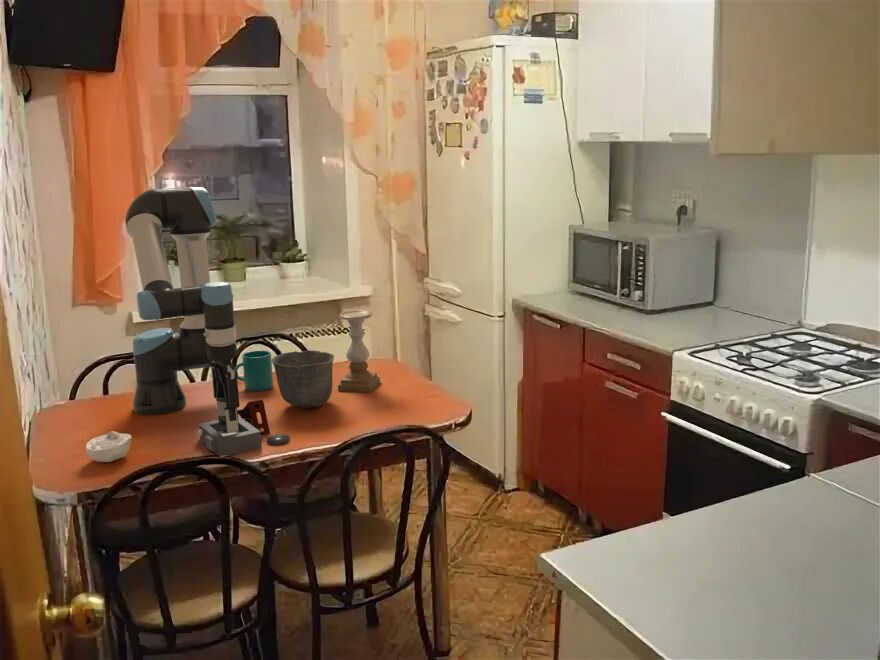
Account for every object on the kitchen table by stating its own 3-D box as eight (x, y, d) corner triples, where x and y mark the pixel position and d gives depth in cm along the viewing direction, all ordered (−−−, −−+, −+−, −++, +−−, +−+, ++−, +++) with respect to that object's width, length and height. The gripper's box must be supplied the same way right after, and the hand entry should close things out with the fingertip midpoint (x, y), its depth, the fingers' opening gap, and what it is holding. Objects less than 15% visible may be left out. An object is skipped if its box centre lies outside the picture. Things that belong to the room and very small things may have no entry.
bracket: (232, 441, 222) (224, 405, 224) (223, 451, 234) (216, 417, 236) (270, 434, 226) (263, 398, 229) (259, 444, 239) (252, 410, 241)
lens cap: (263, 440, 222) (263, 437, 222) (284, 435, 225) (284, 432, 225) (272, 446, 217) (272, 443, 217) (293, 441, 220) (293, 438, 220)
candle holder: (380, 382, 271) (377, 310, 265) (370, 392, 260) (366, 317, 255) (348, 380, 273) (345, 309, 267) (337, 391, 263) (333, 317, 257)
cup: (234, 386, 270) (231, 353, 267) (271, 382, 274) (268, 349, 271) (237, 394, 262) (234, 360, 259) (275, 389, 266) (272, 355, 263)
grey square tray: (195, 440, 223) (193, 424, 222) (239, 430, 229) (237, 415, 228) (216, 458, 210) (214, 442, 209) (261, 447, 216) (260, 431, 215)
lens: (216, 429, 220) (213, 396, 218) (235, 425, 222) (232, 393, 220) (223, 434, 216) (220, 401, 214) (241, 430, 218) (239, 397, 216)
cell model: (77, 465, 208) (73, 440, 206) (111, 448, 219) (108, 424, 217) (109, 470, 204) (106, 444, 203) (142, 453, 215) (139, 428, 214)
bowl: (295, 420, 237) (292, 369, 233) (264, 406, 250) (260, 357, 246) (347, 405, 248) (344, 357, 245) (314, 393, 261) (311, 346, 258)
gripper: (195, 338, 219) (203, 422, 224) (219, 352, 204) (227, 441, 210) (223, 334, 223) (230, 416, 228) (248, 347, 208) (255, 435, 214)
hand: (228, 428), depth 219 cm, fingers closed on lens, 5 cm apart
